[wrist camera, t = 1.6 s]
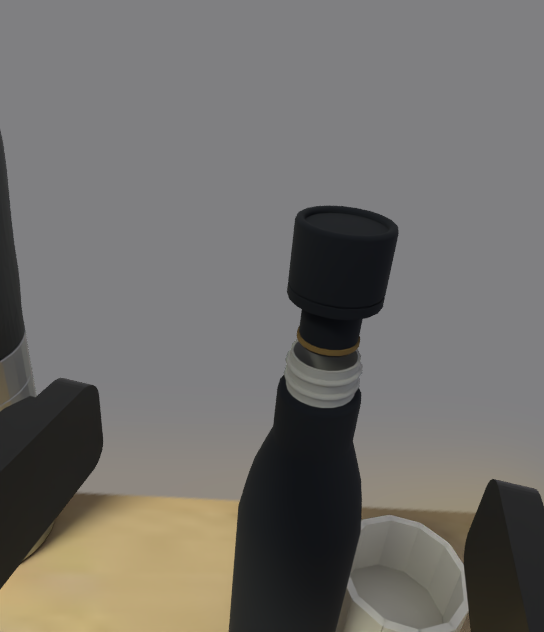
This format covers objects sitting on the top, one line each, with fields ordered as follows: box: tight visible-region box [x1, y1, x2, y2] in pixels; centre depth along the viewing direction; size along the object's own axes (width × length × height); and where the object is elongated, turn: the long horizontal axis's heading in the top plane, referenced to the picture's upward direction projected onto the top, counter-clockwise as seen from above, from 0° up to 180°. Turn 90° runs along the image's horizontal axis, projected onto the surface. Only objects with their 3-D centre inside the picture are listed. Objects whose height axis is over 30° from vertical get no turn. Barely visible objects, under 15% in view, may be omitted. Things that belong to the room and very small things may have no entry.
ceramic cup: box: [336, 515, 469, 632], centre depth 34 cm, size 8×8×6 cm
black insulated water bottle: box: [229, 206, 398, 632], centre depth 26 cm, size 6×6×30 cm
